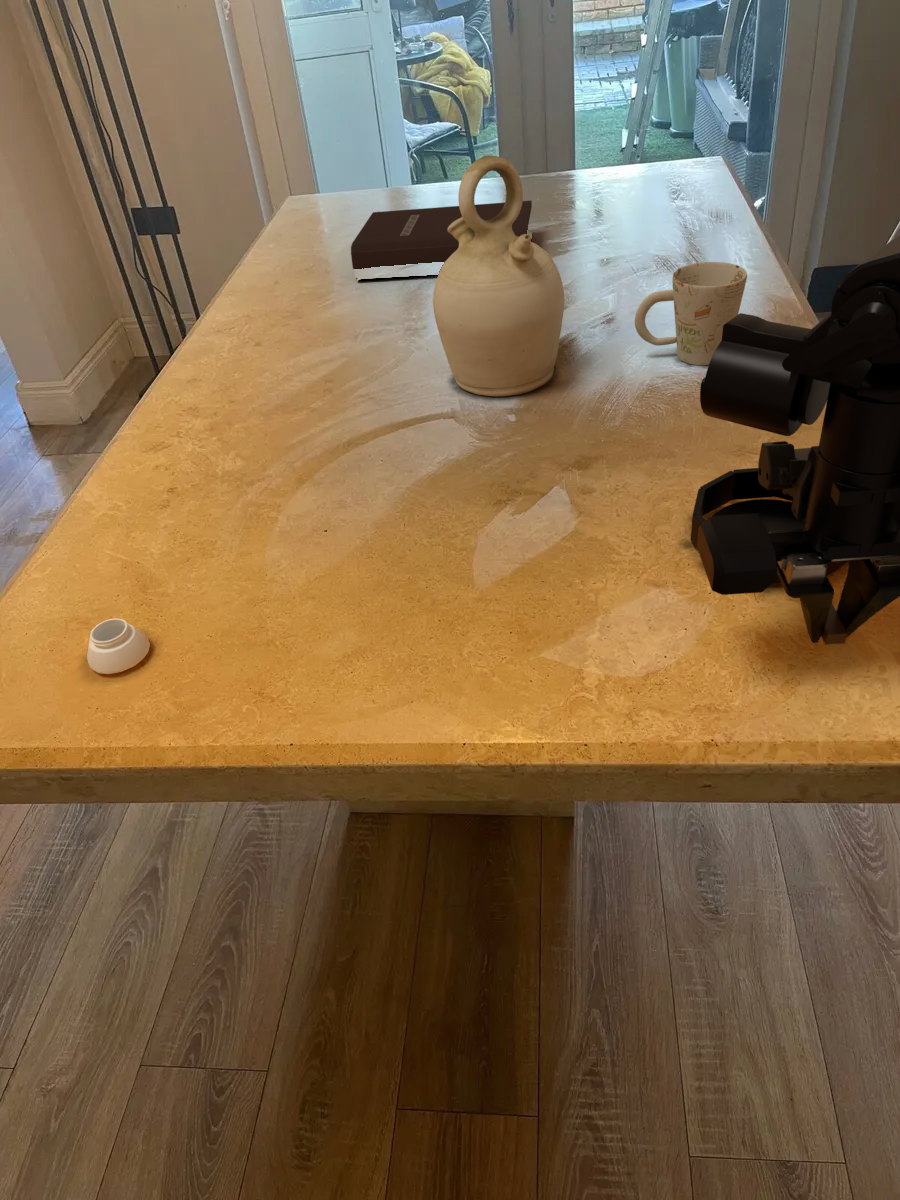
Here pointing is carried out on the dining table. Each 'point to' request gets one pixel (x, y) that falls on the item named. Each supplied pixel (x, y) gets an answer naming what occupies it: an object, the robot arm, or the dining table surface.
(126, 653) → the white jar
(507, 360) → the jug
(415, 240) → the book
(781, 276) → the dining table surface
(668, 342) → the mug
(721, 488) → the frying pan
